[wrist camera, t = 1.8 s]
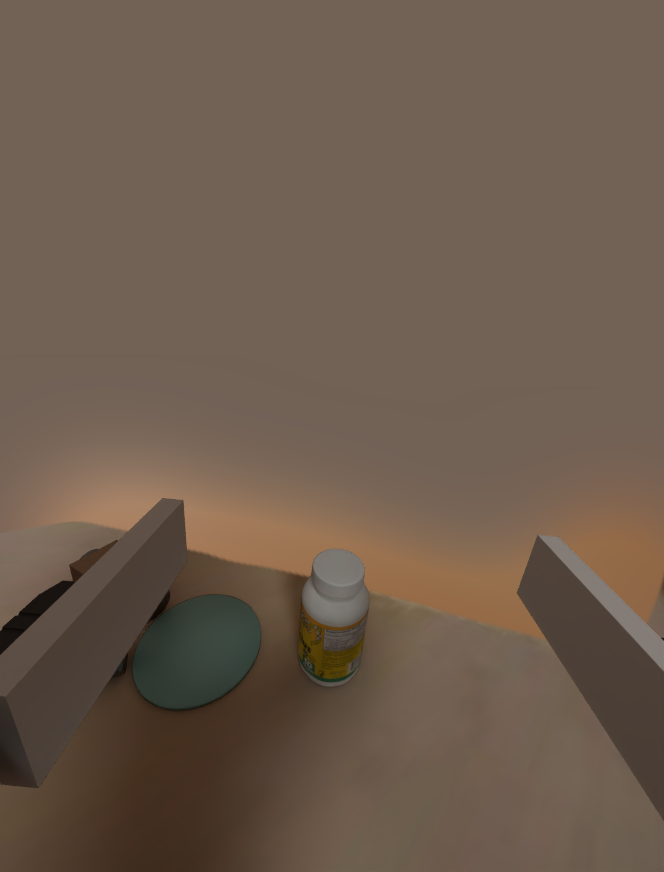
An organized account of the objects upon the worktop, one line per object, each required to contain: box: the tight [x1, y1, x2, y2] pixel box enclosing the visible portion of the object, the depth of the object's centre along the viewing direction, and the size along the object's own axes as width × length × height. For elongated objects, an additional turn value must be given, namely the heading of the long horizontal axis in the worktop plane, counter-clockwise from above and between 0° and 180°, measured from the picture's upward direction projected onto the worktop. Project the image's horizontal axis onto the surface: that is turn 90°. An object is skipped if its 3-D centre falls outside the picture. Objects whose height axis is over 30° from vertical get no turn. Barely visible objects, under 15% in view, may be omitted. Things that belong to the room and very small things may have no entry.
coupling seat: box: [133, 595, 261, 710], centre depth 28 cm, size 10×10×1 cm
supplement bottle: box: [298, 549, 369, 687], centre depth 26 cm, size 5×5×10 cm
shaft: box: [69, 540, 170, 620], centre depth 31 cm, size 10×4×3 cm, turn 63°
